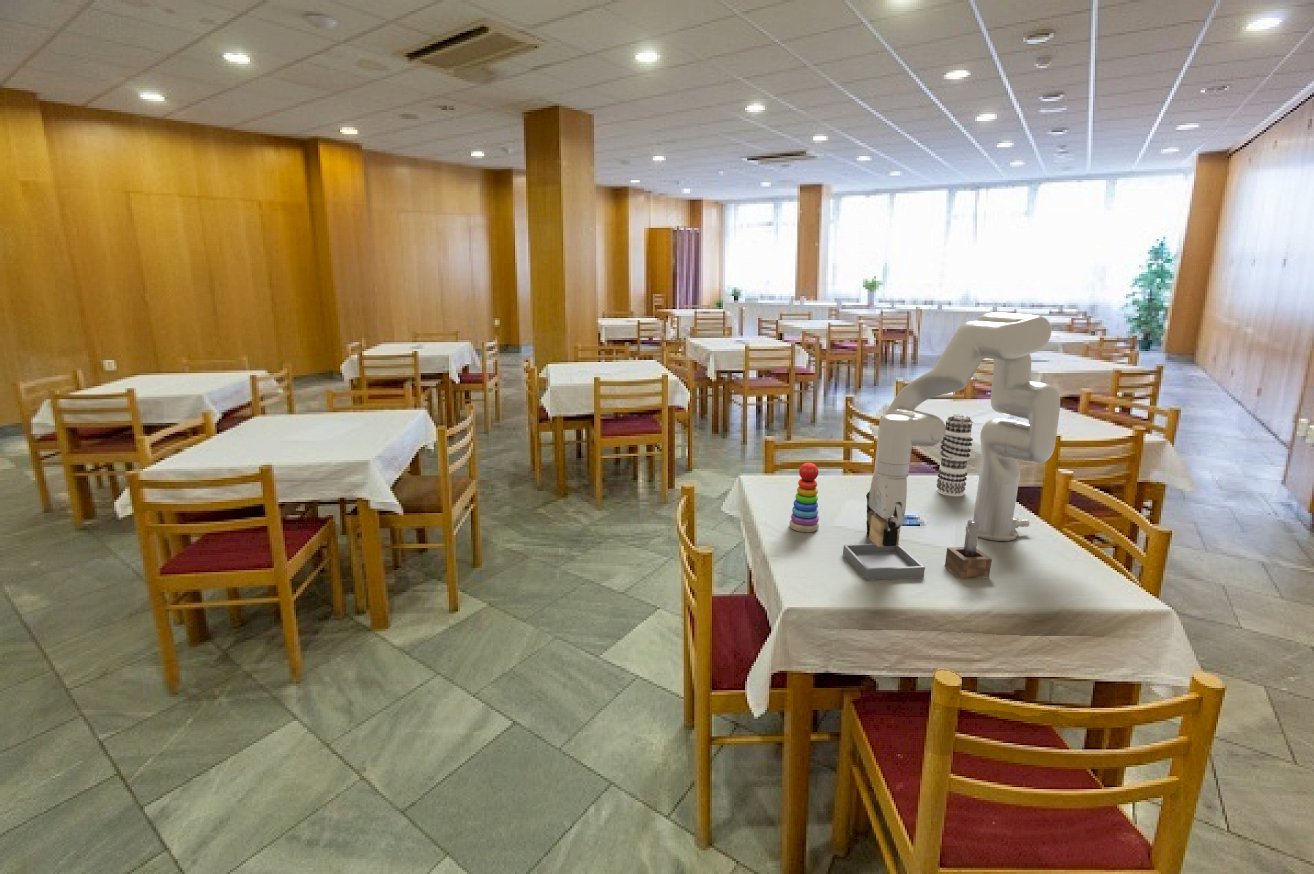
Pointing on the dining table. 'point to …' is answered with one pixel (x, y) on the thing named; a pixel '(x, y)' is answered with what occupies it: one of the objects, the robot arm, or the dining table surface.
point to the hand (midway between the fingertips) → (883, 540)
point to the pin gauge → (971, 538)
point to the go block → (967, 563)
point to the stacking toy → (806, 501)
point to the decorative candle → (954, 456)
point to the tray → (883, 561)
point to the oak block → (879, 530)
